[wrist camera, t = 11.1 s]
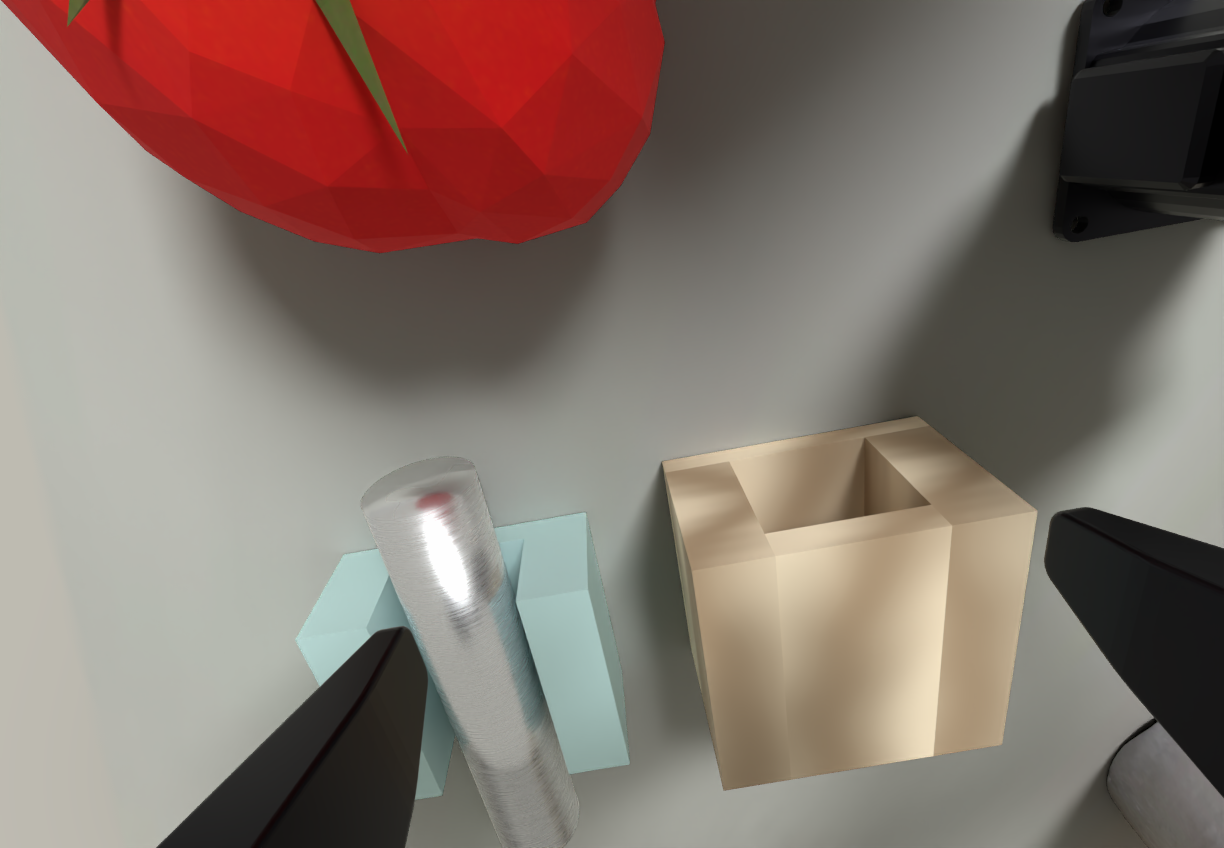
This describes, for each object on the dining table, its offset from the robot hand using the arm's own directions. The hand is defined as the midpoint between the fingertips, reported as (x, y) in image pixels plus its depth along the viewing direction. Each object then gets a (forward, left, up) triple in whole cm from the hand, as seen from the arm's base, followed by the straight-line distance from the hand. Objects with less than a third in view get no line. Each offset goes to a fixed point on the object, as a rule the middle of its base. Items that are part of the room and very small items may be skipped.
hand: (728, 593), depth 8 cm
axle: (+8, +10, -11) cm, 17 cm away
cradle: (+8, +10, -12) cm, 17 cm away
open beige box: (-4, +9, -12) cm, 16 cm away
